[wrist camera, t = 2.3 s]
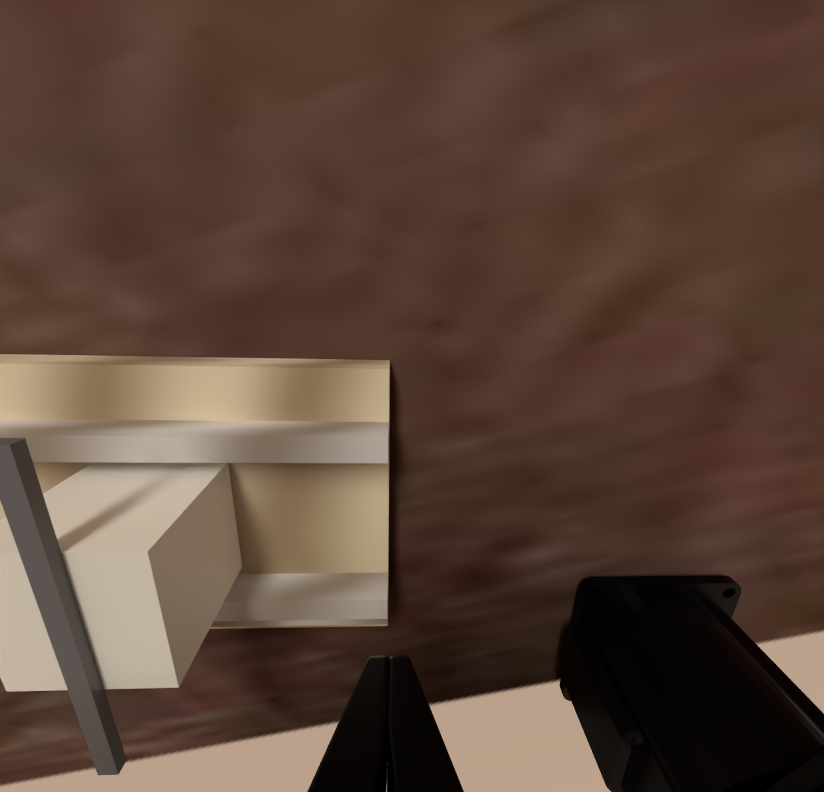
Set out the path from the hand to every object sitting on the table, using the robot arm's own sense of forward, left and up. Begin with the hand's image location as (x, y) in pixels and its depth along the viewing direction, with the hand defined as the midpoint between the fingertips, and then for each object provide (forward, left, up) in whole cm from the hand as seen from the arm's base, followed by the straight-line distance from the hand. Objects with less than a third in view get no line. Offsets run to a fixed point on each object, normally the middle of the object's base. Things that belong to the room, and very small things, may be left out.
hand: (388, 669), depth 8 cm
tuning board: (+9, 0, -7) cm, 11 cm away
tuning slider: (+7, 0, -5) cm, 9 cm away
